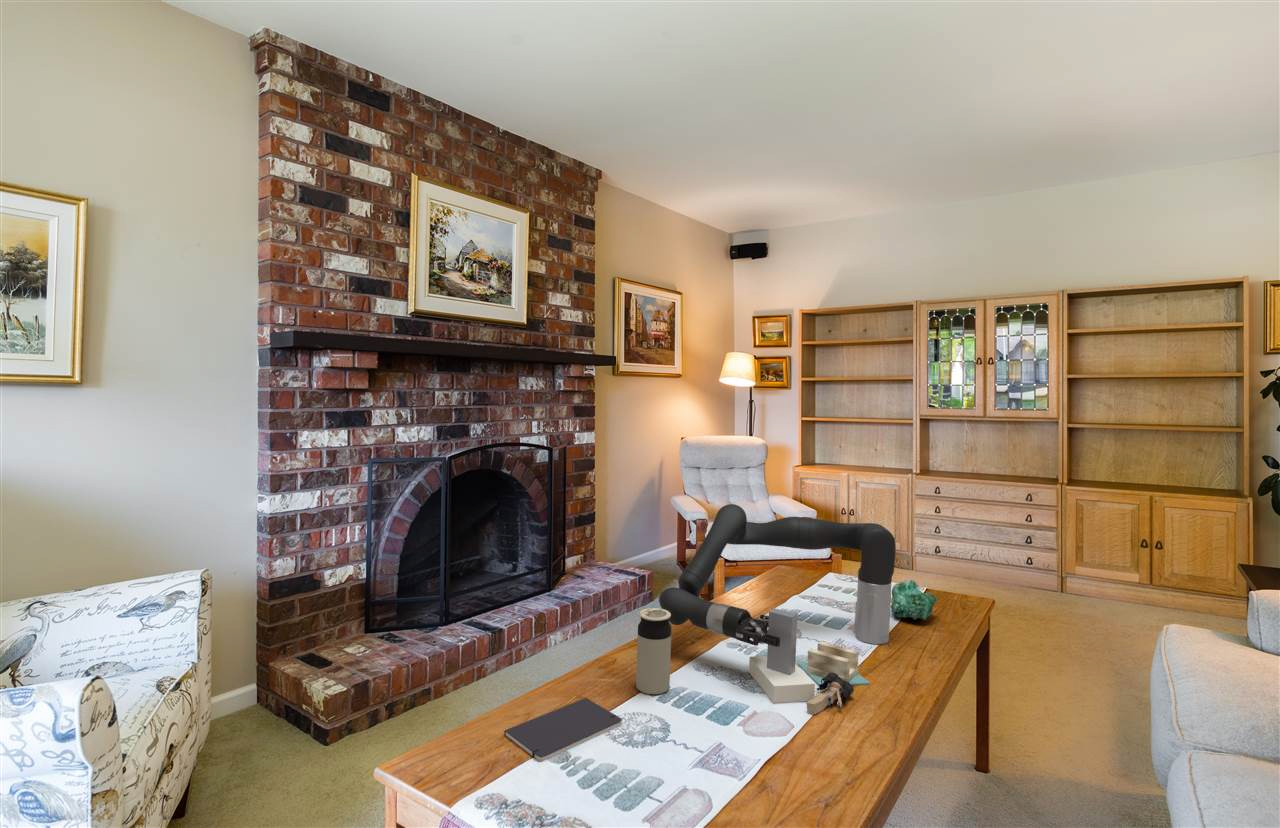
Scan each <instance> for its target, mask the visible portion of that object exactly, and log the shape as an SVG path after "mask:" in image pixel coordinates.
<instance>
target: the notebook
mask: <svg viewBox="0 0 1280 828" xmlns="http://www.w3.org/2000/svg"><path fill="white" fill-rule="evenodd" d="M622 721H623V719H622V718H621V717H619V716H618V715H616V714H614V713H613V712H611V711H609V710H607V709H606V708H604V707H603V706H601V705H599V704H597V703H595V702H594V701H592V700H590V699H589V698H588V697H584V698H582V699H579V700H577V701H574V702H572V703H569V704H567V705H564V706H561V707H559V708H557V709H554V710H552V711H550V712H547V713H544V714H542V715H539V716H537V717H534V718H532V719H529V720H527V721H523V722H522V723H519V724H517V725H514V726H512V727H510V728H507V729H505V730H504V734H503V735H504V736H506V737H507V738H509V739H510V740H512V741H513V742H514V743H515V744H517V745H518V746H519V747H521V748H522V749H523V750H524V751H526V752H527V753H528V754H530V755H531V756H532V758H535V759H536V760H538V761H540V762H544V761H546V760H548V759H551V758H553V757H555V756H558V755H560V754H562V753H563V752H566V751H568V750H570V749H572V748H575V747H577V746H579V745H582V744H583V743H585V742H588V741H590V740H591V739H594V738H597V737H599V736H600V735H603V734H605V733H607V732H610V731H612V730H614V729H616V728H617V727H620V726H621V725H622Z"/></svg>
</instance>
